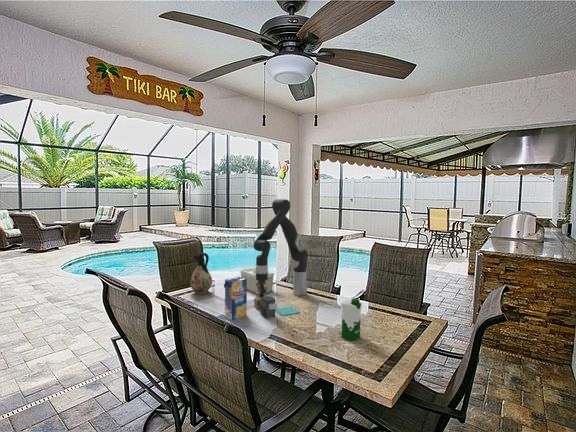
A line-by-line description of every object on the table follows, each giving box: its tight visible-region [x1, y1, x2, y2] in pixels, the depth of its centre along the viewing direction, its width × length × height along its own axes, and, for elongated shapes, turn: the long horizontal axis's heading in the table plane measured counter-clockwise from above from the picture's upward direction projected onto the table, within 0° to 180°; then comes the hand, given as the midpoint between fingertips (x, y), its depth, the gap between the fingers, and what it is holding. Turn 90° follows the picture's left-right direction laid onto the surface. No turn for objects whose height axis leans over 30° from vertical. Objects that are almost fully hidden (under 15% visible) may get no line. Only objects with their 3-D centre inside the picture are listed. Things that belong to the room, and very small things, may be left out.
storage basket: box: [240, 266, 275, 295], centre depth 249 cm, size 24×16×15 cm
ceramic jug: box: [190, 252, 213, 295], centre depth 238 cm, size 17×15×30 cm
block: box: [253, 297, 261, 310], centre depth 209 cm, size 4×4×6 cm
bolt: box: [259, 296, 278, 310], centre depth 196 cm, size 4×16×2 cm, turn 27°
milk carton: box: [340, 298, 363, 342], centre depth 167 cm, size 9×9×20 cm
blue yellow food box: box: [224, 276, 248, 321], centre depth 194 cm, size 7×11×22 cm, turn 138°
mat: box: [275, 305, 301, 317], centre depth 204 cm, size 12×12×1 cm
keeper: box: [260, 295, 276, 319], centre depth 196 cm, size 7×7×11 cm
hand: (261, 299), depth 204 cm, fingers closed
